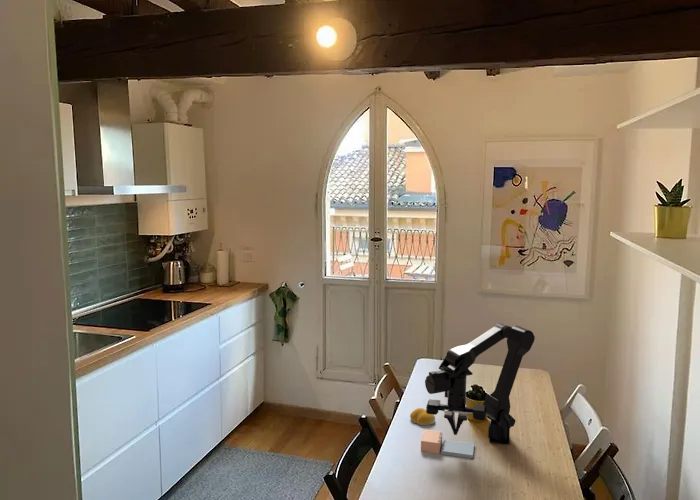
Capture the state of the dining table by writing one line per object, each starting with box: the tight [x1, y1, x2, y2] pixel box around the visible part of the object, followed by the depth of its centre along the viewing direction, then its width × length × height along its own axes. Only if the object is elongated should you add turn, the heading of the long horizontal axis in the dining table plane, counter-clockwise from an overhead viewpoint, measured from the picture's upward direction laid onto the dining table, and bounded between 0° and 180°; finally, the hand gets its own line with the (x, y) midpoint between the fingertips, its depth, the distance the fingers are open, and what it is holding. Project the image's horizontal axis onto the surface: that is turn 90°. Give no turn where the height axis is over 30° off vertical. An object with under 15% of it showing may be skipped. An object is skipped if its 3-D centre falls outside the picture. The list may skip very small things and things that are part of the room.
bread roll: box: [409, 407, 436, 426], centre depth 198 cm, size 8×9×4 cm
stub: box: [420, 429, 443, 454], centre depth 179 cm, size 6×8×4 cm
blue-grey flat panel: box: [440, 438, 475, 459], centre depth 177 cm, size 10×8×1 cm
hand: (455, 434), depth 176 cm, fingers closed
